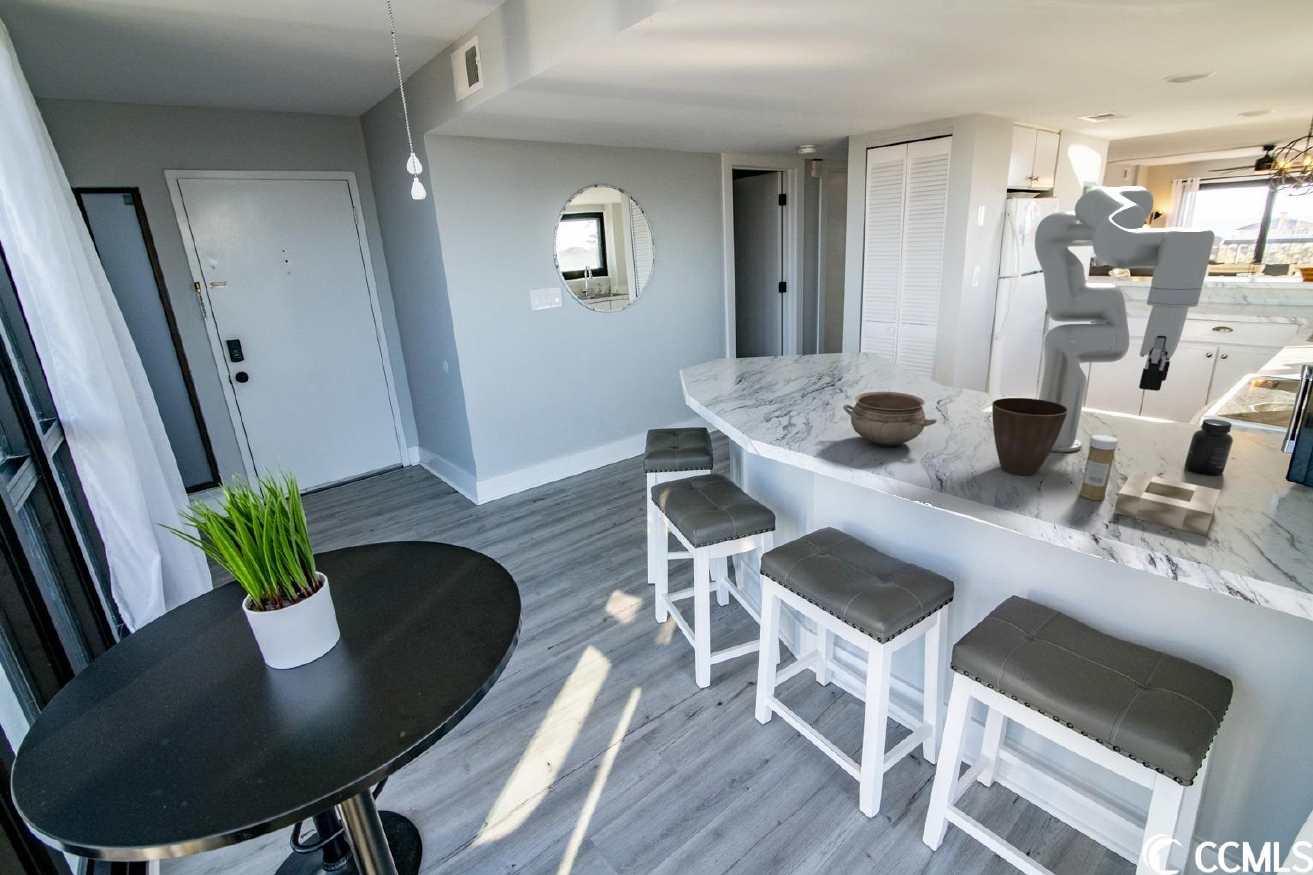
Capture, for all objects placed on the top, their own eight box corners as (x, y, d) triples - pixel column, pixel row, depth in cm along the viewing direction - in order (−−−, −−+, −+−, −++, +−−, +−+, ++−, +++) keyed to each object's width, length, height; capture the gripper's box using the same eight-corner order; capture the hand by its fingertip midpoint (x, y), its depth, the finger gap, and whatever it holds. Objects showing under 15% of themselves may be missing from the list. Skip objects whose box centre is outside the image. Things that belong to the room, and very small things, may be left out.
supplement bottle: (1175, 466, 141) (1188, 418, 137) (1202, 464, 141) (1216, 416, 137) (1203, 477, 134) (1218, 427, 130) (1231, 475, 135) (1246, 425, 131)
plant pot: (971, 468, 144) (980, 405, 139) (1000, 454, 152) (1010, 393, 147) (1037, 487, 132) (1050, 419, 127) (1066, 470, 141) (1079, 406, 135)
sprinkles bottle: (1108, 497, 127) (1122, 438, 122) (1098, 502, 124) (1112, 442, 120) (1084, 490, 130) (1097, 432, 126) (1074, 495, 128) (1087, 437, 124)
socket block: (1113, 512, 120) (1118, 492, 119) (1128, 491, 129) (1132, 472, 128) (1205, 535, 110) (1212, 513, 109) (1214, 510, 119) (1220, 490, 118)
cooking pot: (944, 442, 162) (949, 399, 158) (919, 463, 148) (925, 416, 144) (856, 425, 178) (859, 386, 174) (827, 443, 164) (829, 401, 160)
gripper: (1153, 292, 122) (1135, 374, 127) (1142, 301, 110) (1122, 390, 115) (1202, 294, 117) (1180, 378, 122) (1195, 303, 105) (1172, 396, 110)
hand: (1152, 384), depth 119 cm, fingers open, 9 cm apart
